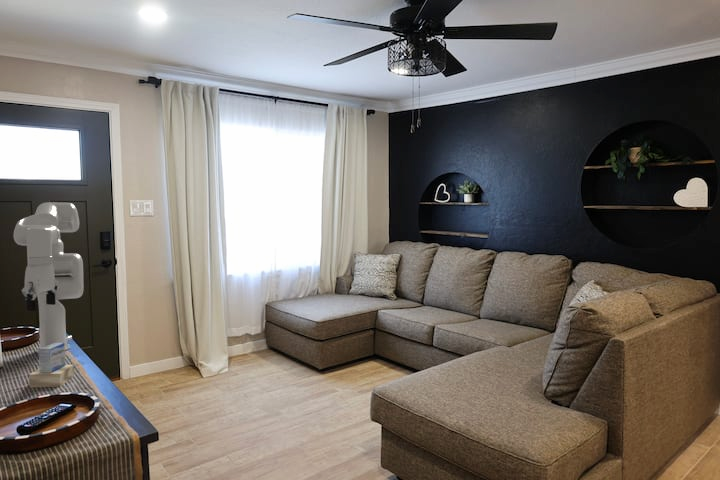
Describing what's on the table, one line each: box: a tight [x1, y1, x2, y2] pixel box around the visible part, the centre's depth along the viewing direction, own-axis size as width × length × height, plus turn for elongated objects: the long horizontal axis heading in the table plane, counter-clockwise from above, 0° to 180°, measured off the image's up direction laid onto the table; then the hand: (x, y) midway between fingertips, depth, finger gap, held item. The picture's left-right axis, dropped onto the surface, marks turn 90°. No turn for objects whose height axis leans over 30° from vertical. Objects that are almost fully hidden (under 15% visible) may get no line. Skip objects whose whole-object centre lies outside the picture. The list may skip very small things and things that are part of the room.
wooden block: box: [28, 364, 75, 388], centre depth 171 cm, size 10×10×5 cm
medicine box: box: [38, 343, 66, 373], centre depth 171 cm, size 8×4×9 cm, turn 179°
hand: (41, 307), depth 174 cm, fingers open, 9 cm apart
